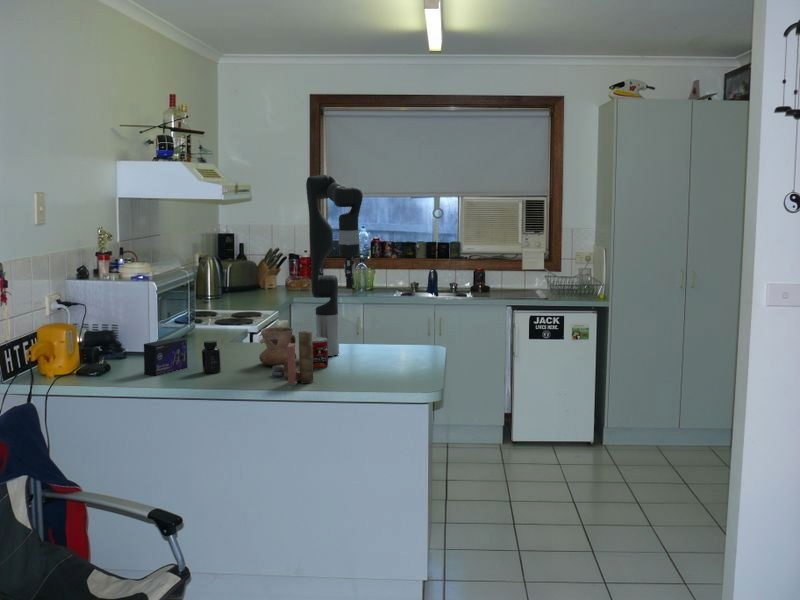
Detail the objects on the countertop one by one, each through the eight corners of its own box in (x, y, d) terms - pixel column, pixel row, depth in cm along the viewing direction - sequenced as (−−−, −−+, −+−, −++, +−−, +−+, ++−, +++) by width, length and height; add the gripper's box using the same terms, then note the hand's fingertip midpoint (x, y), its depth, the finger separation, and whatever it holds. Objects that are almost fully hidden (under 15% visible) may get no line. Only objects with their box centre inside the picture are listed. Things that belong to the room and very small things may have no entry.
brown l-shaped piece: (281, 372, 336) (279, 325, 334) (316, 381, 321) (315, 331, 319) (270, 375, 332) (268, 327, 330) (305, 383, 318) (303, 333, 315)
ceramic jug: (273, 370, 342) (272, 333, 340) (249, 365, 351) (248, 330, 349) (308, 362, 355) (307, 327, 353) (284, 358, 365) (283, 324, 363)
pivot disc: (272, 374, 335) (272, 368, 335) (288, 373, 335) (288, 368, 335) (270, 377, 330) (270, 372, 329) (286, 377, 330) (286, 372, 329)
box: (156, 376, 334) (154, 345, 333) (143, 374, 338) (142, 343, 336) (188, 368, 349) (187, 338, 347) (176, 366, 352) (175, 336, 351)
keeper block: (289, 381, 323) (287, 343, 321) (297, 381, 323) (296, 343, 321) (286, 385, 316) (285, 346, 314) (295, 385, 316) (294, 346, 314)
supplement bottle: (222, 370, 344) (221, 339, 342) (219, 374, 337) (218, 342, 335) (204, 370, 344) (203, 339, 342) (201, 374, 337) (199, 343, 335)
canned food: (310, 369, 343) (309, 341, 341) (306, 365, 350) (306, 337, 349) (329, 368, 345) (329, 340, 343) (326, 364, 352) (325, 336, 351)
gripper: (339, 241, 331) (340, 285, 333) (337, 244, 317) (338, 289, 319) (360, 241, 331) (361, 284, 333) (358, 244, 317) (359, 289, 319)
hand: (350, 287), depth 326 cm, fingers open, 8 cm apart
